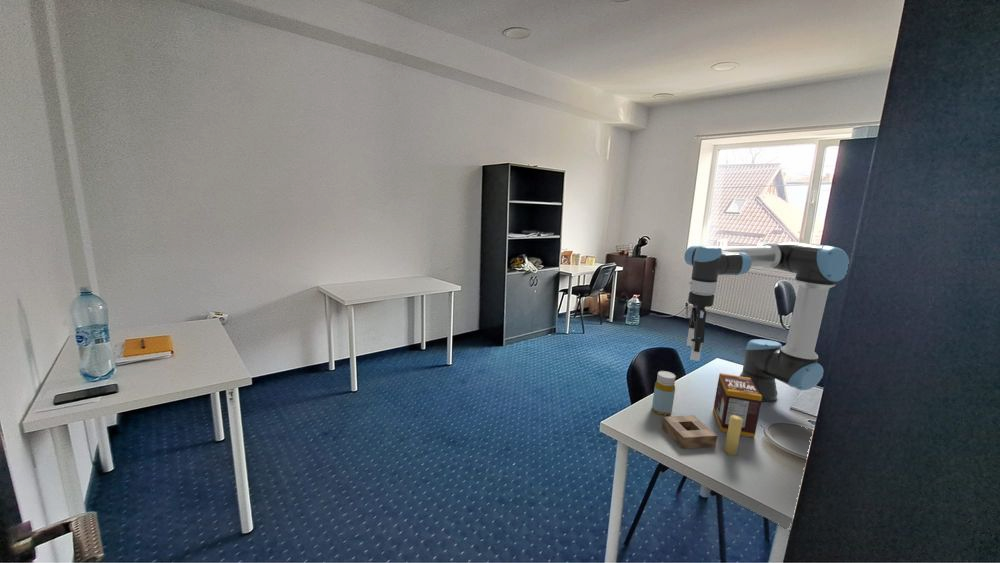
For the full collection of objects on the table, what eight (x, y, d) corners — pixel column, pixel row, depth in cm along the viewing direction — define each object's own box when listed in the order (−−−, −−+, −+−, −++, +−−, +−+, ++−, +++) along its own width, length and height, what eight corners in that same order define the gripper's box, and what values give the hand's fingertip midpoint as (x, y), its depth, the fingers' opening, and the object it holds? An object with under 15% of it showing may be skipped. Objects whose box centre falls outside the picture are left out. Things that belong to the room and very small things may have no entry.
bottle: (673, 417, 143) (678, 379, 140) (653, 414, 144) (658, 377, 141) (669, 407, 149) (674, 371, 146) (650, 404, 151) (655, 369, 148)
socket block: (692, 425, 138) (694, 415, 137) (715, 446, 126) (717, 435, 126) (661, 427, 136) (662, 416, 135) (682, 448, 125) (683, 437, 124)
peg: (731, 448, 126) (737, 414, 123) (738, 454, 123) (745, 421, 120) (721, 448, 125) (727, 415, 123) (729, 455, 122) (735, 421, 120)
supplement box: (743, 415, 146) (750, 377, 143) (754, 438, 132) (763, 396, 128) (712, 409, 149) (719, 372, 146) (720, 431, 135) (728, 390, 132)
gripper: (686, 284, 140) (678, 338, 145) (693, 300, 118) (683, 364, 122) (709, 286, 138) (700, 342, 142) (720, 303, 115) (709, 369, 120)
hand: (692, 352), depth 132 cm, fingers open, 13 cm apart
